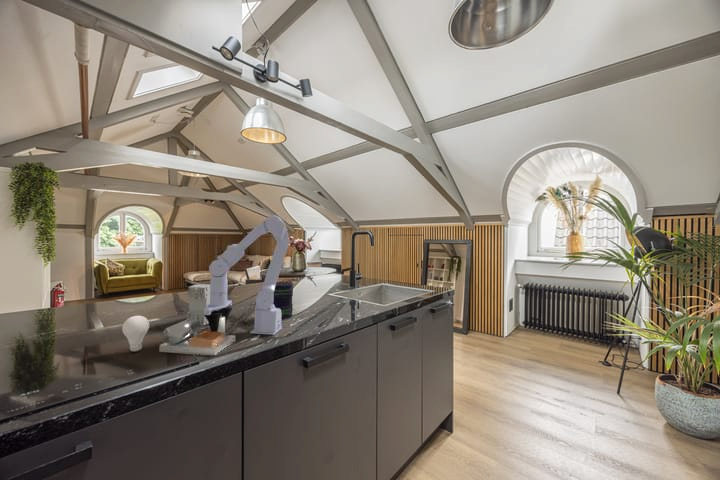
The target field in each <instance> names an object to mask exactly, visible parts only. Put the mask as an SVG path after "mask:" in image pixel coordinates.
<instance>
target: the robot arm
mask: <svg viewBox="0 0 720 480" xmlns="http://www.w3.org/2000/svg"><path fill="white" fill-rule="evenodd" d="M269 233H271V235H273V238H274V239H275V241H276V244H275V248H274V251H273V254H272V256H271V260H270V264H269V266H268V269H267V273H266V275H265V279H264V280H263V284H262V287H261V289H259V291H258V292H257V293H256V298H255V306H254V329H252V330H251V331H249V333H250V334H253V335H254V334H255V335H256V334H257V335H269V336H270V335H272V336H273V335H276V334H277V333H278V332H280V330H282V328H283V327H282V320H281V315H282V314H281V309H279V308H275V305H274V304H273V301H274V299H273V298H274V294H273V293H274V290H275V286H276V283H277V282H278V280H279V276H280V273H281V270H282V266H283V265H284V261H285V258H286V254H287V252H288V249H289V245H290V242H291V239H290V236H289V232H288V229H287V225H286V224H285V222H284V221H283V219H282V217H280V216H278V215H276V214H274V215H273V214H272V215H270V216H268V217H266V218H265V220H263V221H261V222H260V223H258V224H257V225H256V226H255V227H253V229H252V230H251V231H250V232H249V233H247V235H246V236H245V237H243V239H242V240H240V242H238V243H232V244H231V245H227V246H226V250H224V252H223V253H221V254H220V255H217V257H216V260H215V259H214V260H212V262H211V263H210V264H209V267H208V272H209V273H210V281H209V284H210V304H207V306H208V307H207V308H206V309H204V316H205V317H206V319H207V321H208V326H209V329H210V330H209V331H216V332H217V331H218V325H219V320H220V317H221V314H222V316H224V317H225V327H226V325H227V322H228V319H229V315H230V314H231V311H232V310H233V308H232V307H231V306H232V304H233V300H231V299H230V300H229V299H228V283H229V282H228V281H229V280H228V272H229V270H230V268H232V267H234V265H235V264H237V263H238V262H239V261H240V260H241V259H242V257H243V258H244V257H245V250H246V249H247V248H248V247H250V245H252V243H254V242H255V241H256V240H257V239H258V238H259V237H261V236H263V235H266V234H269Z"/></svg>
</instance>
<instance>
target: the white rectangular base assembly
mask: <svg viewBox="0 0 720 480" xmlns="http://www.w3.org/2000/svg"><path fill="white" fill-rule="evenodd" d="M189 318H190V317H189ZM200 330H201V325H200V322H199V321H198V320H197V319H195V318H190V319H185V320H182V321H179V322H178V323H175V324H173V325H170V326H168V327H166V328H165V329H164V330H163V332H162V339H163V341H164V343H161V344H160V345H159V346H158V347H159V350H158V351H159V353H170V354H171V353H173V354H187V355H199V354H200V356H201V355H203V356H213V355H215V356H216V355H218V354H219V353H221V352H222V351H223V349H224V348H225V349H227V348H228V347H229V346H231V345H232V344H234V343H235V342H236V339H237V337H236V335H232V334H231V335H229V334H227V331H225V332H216V331H211V330H204V331H202V332H200ZM233 342H234V343H233ZM227 346H228V347H227ZM226 347H227V348H226ZM225 349H224V350H225ZM221 350H222V351H221ZM220 351H221V352H220ZM218 352H219V353H218ZM217 353H218V354H217Z"/></svg>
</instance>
